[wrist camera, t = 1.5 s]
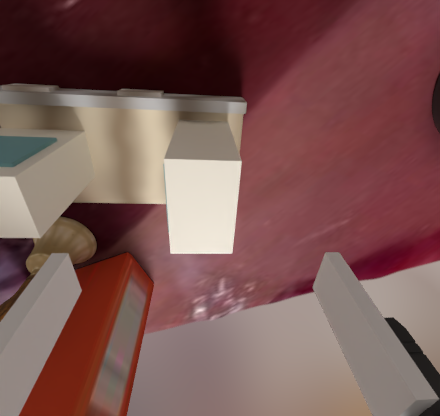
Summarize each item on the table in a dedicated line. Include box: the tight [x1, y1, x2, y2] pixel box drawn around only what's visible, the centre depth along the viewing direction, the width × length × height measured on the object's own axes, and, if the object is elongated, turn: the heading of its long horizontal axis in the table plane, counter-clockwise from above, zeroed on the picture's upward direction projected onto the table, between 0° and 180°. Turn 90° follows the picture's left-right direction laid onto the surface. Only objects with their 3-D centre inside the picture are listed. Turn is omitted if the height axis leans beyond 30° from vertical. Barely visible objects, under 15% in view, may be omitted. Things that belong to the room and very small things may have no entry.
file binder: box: [19, 252, 154, 416], centre depth 26 cm, size 8×17×32 cm, turn 110°
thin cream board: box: [0, 84, 247, 204], centre depth 27 cm, size 24×12×4 cm, turn 87°
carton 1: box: [0, 128, 95, 238], centre depth 21 cm, size 8×5×11 cm, turn 87°
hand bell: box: [0, 217, 97, 322], centre depth 28 cm, size 8×8×16 cm
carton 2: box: [163, 120, 242, 254], centre depth 23 cm, size 8×5×11 cm, turn 177°
